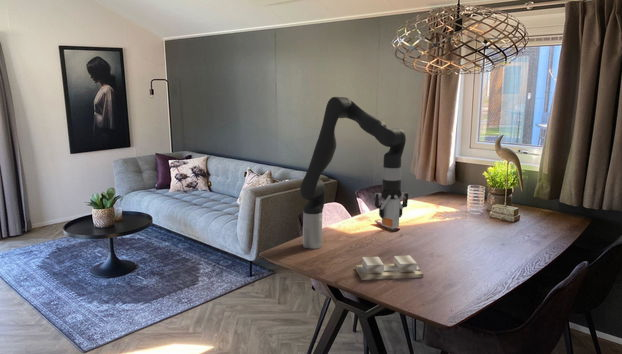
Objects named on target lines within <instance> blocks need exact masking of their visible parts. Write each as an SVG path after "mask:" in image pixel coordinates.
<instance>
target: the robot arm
mask: <svg viewBox="0 0 622 354" xmlns="http://www.w3.org/2000/svg"><path fill="white" fill-rule="evenodd" d="M324 110H325V111H324V115H323V119H322V120H323V121H322V124H321V129H320V131H319V135H318V139H317V141H316V143H315V146H314V149H313V152H312V156H311V159H310V163H309V165H308V167H307V170H306V173H305V175H304V177H303V179H302V181H301V184H300V187H299V188H300V190H299V193H300V195H301V197H302V198H303V200H305V201H307V202H306V203H305V205H303V210H302V211H303V213H302V214H303V218H302V220H303V222H302V223H303V224H302V246H303V248H304V249H311V250H312V249H313V250H315V249H320V248H322V246H323V209H324V206H325V199H326V196H325V195H326V186H325V183H324V182H323V180H322V179H320V177H321V175H322V174H323V173H324V171H325V170H326V169H327V167H328V166H329V165H330V163H331V161H332V160H333V159H334V158H333V157H334V154H335V152H336V149H337V139H336V134H335V133H336V131H335V129H336V127H337V126H336V125H337V122H338V120H339V119H348V120H352V121H354V122H355V123H357V124H358V125H359V127H360V128H361V129H362V130H363V131H364V132H365V133H367V134H369V135H371V136H372V137H374V138H375V140H376V141H378V143H380V144H381V145H382V146H383V147H386V148H389V150H388V151H387V152H385V153H384V154H383V165H382V167H383V169H382V182H381V192H374V193H373V194H374V195H373V196H374V207H375V208H377V209H378V216H379V217H380V218H381V219H382V218H383V216H384V210H383V208H384V206H385V205H386V204H387V202H388V201H389V199H401V197H402V203H401V200H400V201H399V204H400V209H399V219H400V218H402V217H403V209H404V208H407V207H408V201H409V193H408V192H407V191H404V192H402V191H401V190H402V189H401V188H402V177H403V176H402V156H403V153H404V150H405V145H406V133H405V132H404V130H403V129H401V128H391V129H390V128H388V127H387V124H386V123H385V122H384V121H382V120H380V119H379V118H377V117H374V116H373V115H371V114H370V113H368V112H366V111H365V110H364V109H362V108H361V107H360V106H358V105H357V104H356V103H355V102H354V101H353V100H352V99H350V98H348V97H344V96H333V97H331V98H330V99H329V100H328V101H327V103H326V106H325V109H324ZM381 197H382V198H381ZM379 199H382V200H381V202H380V201H379ZM383 199H384V200H385V201H384V202H383Z"/></svg>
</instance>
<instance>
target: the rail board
mask: <svg viewBox="0 0 622 354" xmlns="http://www.w3.org/2000/svg"><path fill="white" fill-rule="evenodd" d="M361 259H362V261H361V264H356V265H355V270H356V272H357V273H358V275H359V278H360V280H362V281H365V280H369V281H370V280H387V279H388V280H389V279H391V280H392V279H410V278H424V272H423V271H421V268H420V266H419V265H418V263H417V261H416V260H414V258H413V257H412V256H411V255H393V263H383V261H382V259H381V258H380V257H379V256H362V257H361Z"/></svg>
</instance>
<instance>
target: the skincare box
mask: <svg viewBox="0 0 622 354" xmlns="http://www.w3.org/2000/svg"><path fill="white" fill-rule="evenodd" d="M382 199H383V198H382ZM384 201H385V200H384V199H383V202H384ZM399 201H400V202H401V198H399V199H389V201H388V202H387V204H386V205H385V206H384V208H383V210H384V216H383V218H381V226H383V227H386V228H390V229H396V228H398V227H400V218H399V209H400V204H399Z"/></svg>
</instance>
